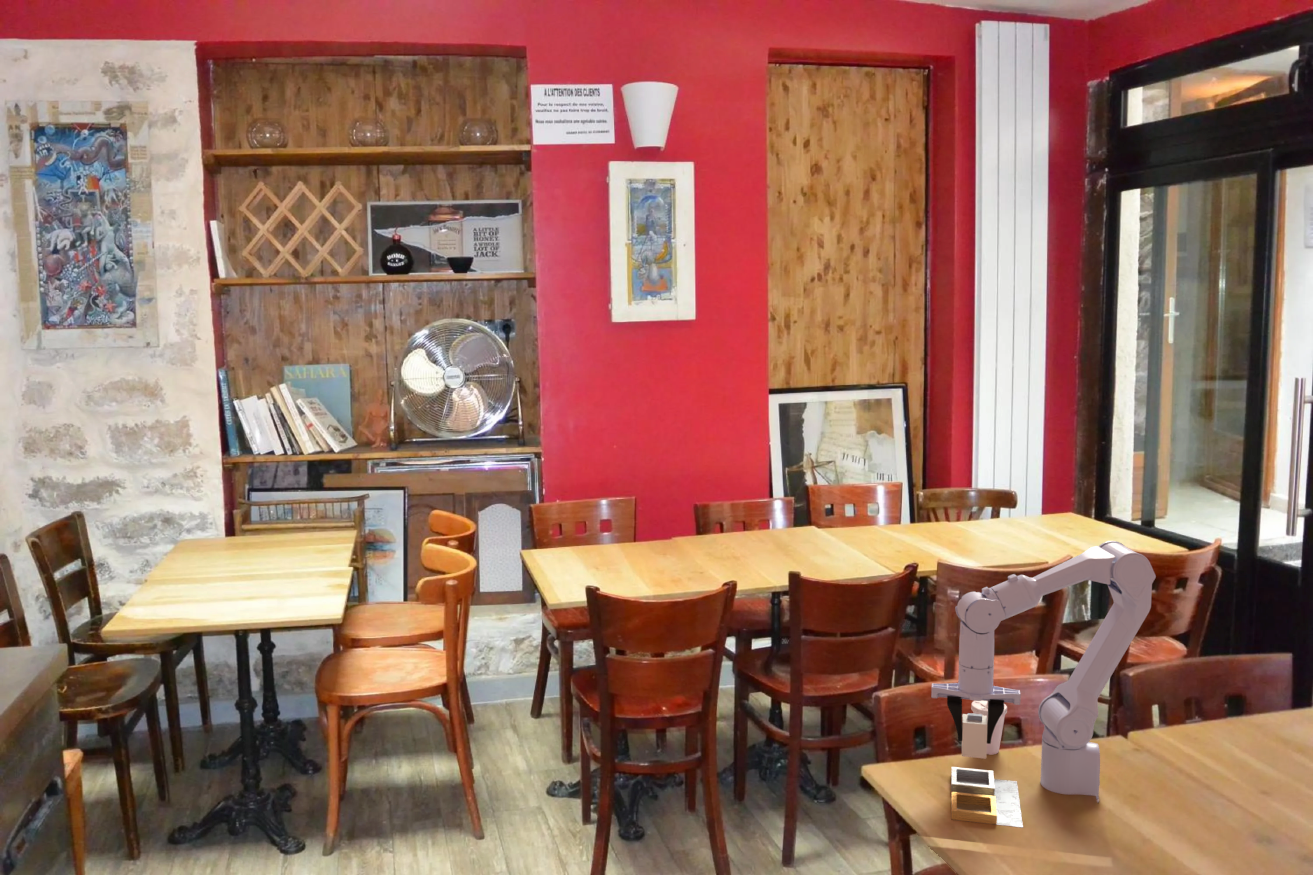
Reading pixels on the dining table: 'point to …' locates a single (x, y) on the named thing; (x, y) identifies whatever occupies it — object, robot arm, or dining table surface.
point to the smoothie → (993, 748)
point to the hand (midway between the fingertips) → (974, 740)
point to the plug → (974, 735)
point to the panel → (984, 798)
